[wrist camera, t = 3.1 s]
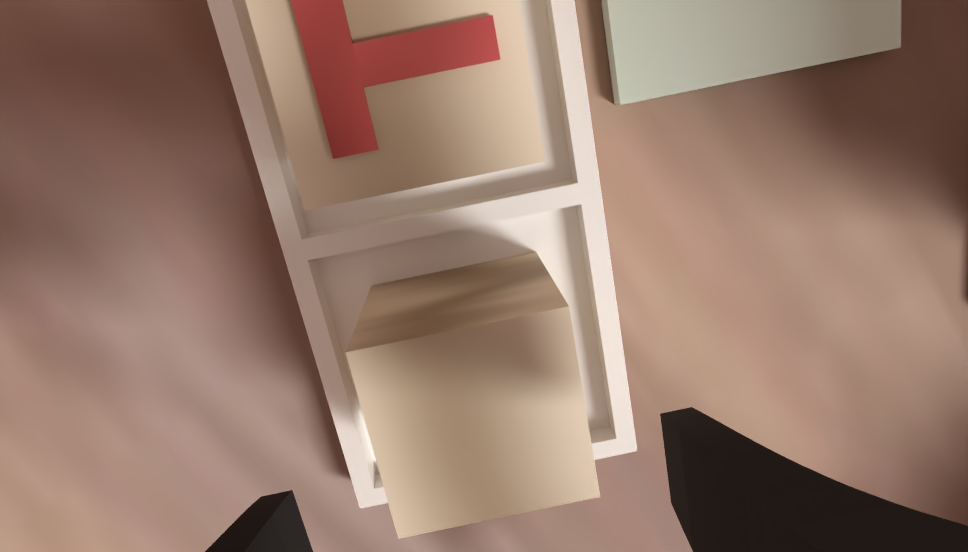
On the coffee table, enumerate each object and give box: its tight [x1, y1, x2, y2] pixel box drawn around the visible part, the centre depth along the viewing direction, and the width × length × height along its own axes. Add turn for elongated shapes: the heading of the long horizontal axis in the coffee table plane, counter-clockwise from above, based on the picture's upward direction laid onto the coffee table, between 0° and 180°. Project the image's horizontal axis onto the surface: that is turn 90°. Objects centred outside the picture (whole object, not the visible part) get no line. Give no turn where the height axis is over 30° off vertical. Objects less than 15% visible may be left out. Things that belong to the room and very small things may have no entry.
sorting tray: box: [207, 0, 637, 509], centre depth 16 cm, size 9×25×1 cm, turn 11°
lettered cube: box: [245, 0, 545, 211], centre depth 14 cm, size 5×5×5 cm
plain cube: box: [345, 252, 600, 539], centre depth 16 cm, size 5×5×5 cm
